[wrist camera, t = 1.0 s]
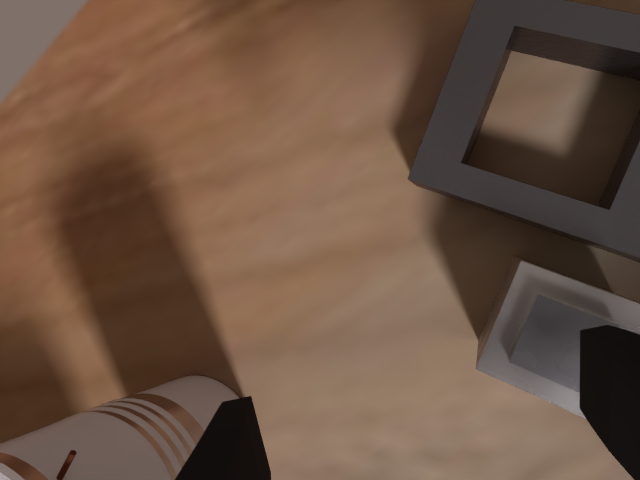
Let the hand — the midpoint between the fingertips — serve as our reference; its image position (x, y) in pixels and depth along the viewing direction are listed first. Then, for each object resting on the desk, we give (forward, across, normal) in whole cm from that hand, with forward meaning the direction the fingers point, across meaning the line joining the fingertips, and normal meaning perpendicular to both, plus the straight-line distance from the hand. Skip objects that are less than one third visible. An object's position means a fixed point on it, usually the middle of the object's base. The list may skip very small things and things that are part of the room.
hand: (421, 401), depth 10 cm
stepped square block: (+9, -8, +4) cm, 12 cm away
